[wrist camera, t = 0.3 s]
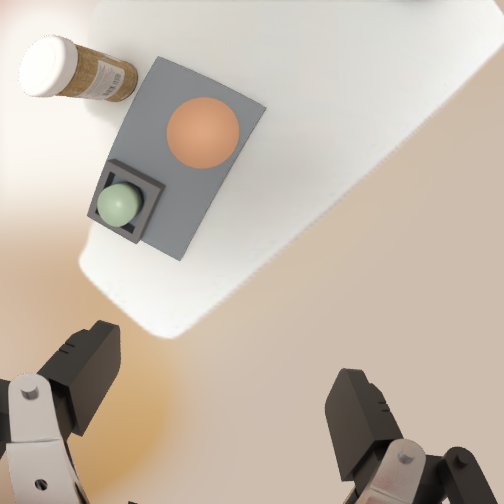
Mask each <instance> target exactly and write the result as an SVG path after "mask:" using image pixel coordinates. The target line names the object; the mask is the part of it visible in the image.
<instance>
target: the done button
mask: <svg viewBox="0 0 504 504" xmlns="http://www.w3.org/2000/svg"><path fill="white" fill-rule="evenodd" d="M141 205H142V199H141V195H140V193H139V191H138V189H137V188H136V187H135V186H134V185H132V184H131V183H128V182H119V183H116V184H114V185H112V186H109V187H107V188H106V189H104V190H103V191H102V192H101V194H100V195H99V198H98V202H97V207H98V212H99V214H100V216H101V218H102V219H103V220H104V221H105V222H106V223H107V224H109V225H111V226H115V227H120V226H123V225H125V224H127V223H128V222H129V221H130V220H132V219H133V218H134V217H135V216H136V215H137V214H138V213H139V211H140V209H141Z"/></svg>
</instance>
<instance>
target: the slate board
mask: <svg viewBox="0 0 504 504" xmlns="http://www.w3.org/2000/svg"><path fill="white" fill-rule="evenodd" d="M265 109H266V107H264V106H262V105H260V104H259V103H257V102H255V101H253V100H251V99H249V98H247V97H246V96H244V95H242V94H240V93H238V92H236V91H234V90H232V89H230V88H228V87H226V86H224V85H222V84H220V83H218V82H216V81H214V80H212V79H209V78H207V77H205V76H203V75H201V74H199V73H196V72H194V71H192V70H190V69H187V68H185V67H183V66H181V65H178V64H176V63H173V62H171V61H169V60H166V59H164V58H161V57H159V56H158V57H157V58H156V60H155V62H154V64H153V65H152V67H151V69H150V71H149V72H148V74H147V76H146V78H145V80H144V81H143V83H142V85H141V87H140V89H139V91H138V93H137V95H136V97H135V98H134V100H133V102H132V104H131V106H130V109H129V111H128V113H127V115H126V117H125V119H124V121H123V123H122V125H121V128H120V130H119V132H118V134H117V137H116V139H115V141H114V143H113V146H112V148H111V151H110V153H109V155H108V158H107V160H106V163H105V166H104V168H103V171H102V173H101V176H100V179H99V181H98V184H97V187H96V190H95V193H94V196H93V198H92V202H91V205H90V208H89V211H88V214H87V216H88V217H90V218H91V219H93V220H95V221H96V222H98V223H100V224H102V225H103V226H105V227H107V228H108V229H110V230H112V231H114V232H115V233H117V234H119V235H121V236H123V237H124V238H126V239H128V240H130V241H131V242H133V243H135V244H137V243H138V242H139V241H140V240H142V241H143V242H145V243H147V244H149V245H151V246H153V247H154V248H156V249H158V250H160V251H162V252H164V253H165V254H167V255H169V256H171V257H173V258H175V259H177V260H179V261H180V260H181V258H182V256H183V255H184V253H185V251H186V249H187V247H188V245H189V243H190V241H191V239H192V237H193V235H194V233H195V231H196V229H197V228H198V226H199V224H200V222H201V220H202V218H203V216H204V214H205V213H206V211H207V209H208V207H209V205H210V203H211V202H212V200H213V198H214V196H215V194H216V193H217V191H218V189H219V187H220V185H221V184H222V182H223V180H224V178H225V176H226V175H227V173H228V171H229V169H230V168H231V166H232V164H233V162H234V161H235V159H236V157H237V156H238V154H239V152H240V150H241V149H242V147H243V145H244V144H245V142H246V140H247V139H248V137H249V135H250V134H251V132H252V130H253V129H254V127H255V125H256V124H257V122H258V120H259V119H260V117H261V115H262V114H263V112H264V111H265ZM119 182H128V183H131V184H132V185H134V186H135V187H136V188H137V189H138V191H139V193H140V195H141V199H142V205H141V209H140V211H139V213H138V214H137V215H136V216H135V217H134V218H133V219H132V220H130V221H129V222H128V223H127V224H125V225H123V226H120V227H115V226H111V225H109V224H107V223H106V222H105V221H104V220H103V219H102V218H101V216H100V214H99V212H98V207H97V202H98V198H99V195H100V194H101V192H102V191H103V190H104V189H106V188H107V187H109V186H112V185H114V184H116V183H119Z"/></svg>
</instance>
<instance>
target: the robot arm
mask: <svg viewBox="0 0 504 504" xmlns="http://www.w3.org/2000/svg"><path fill="white" fill-rule="evenodd" d="M120 363H121V352H120V328H119V326H118V325H114V324H111V323H108V322H104V321H101V320H99V321H97V322H96V323H95V325H94V326H93V327H92V328H91V329H90V330H89V331H88V330H85V329H83V330H81V331H79V332H76V333H74V334H73V335H71V337H70V338H69V339H68V340H67V341H66V342H65V344H63V345H62V346H61V347H60V348H59V351H56V352H55V354H54V355H53V356H52V357H51V358H50V359H49V360H48V361H47V362H46V364H45V365H44V366H43V367H42V368H41V369H40V370H39V371H38V372H37V374H33V373H25V374H21V375H18V376H17V377H15V378H14V379H13V380H12V381H7V380H3V379H0V459H1V457H2V456H3V454H4V452H5V450H6V452H7V459H8V467H9V473H10V479H11V484H12V488H13V493H14V497H15V502H16V504H90V503H89V500H88V498H87V496H86V494H85V492H84V489H83V487H82V485H81V482H80V479H79V476H78V473H77V470H76V467H75V464H74V461H73V458H72V455H71V451H70V448H69V444H68V441H67V439H68V437H69V435H70V434H71V432H72V433H74V434H76V435H79V436H81V437H82V436H83V434H84V432H85V431H86V429H87V427H88V425H89V423H90V421H91V420H92V418H93V416H94V414H95V413H96V411H97V409H98V407H99V405H100V404H101V402H102V400H103V398H104V397H105V395H106V393H107V392H108V390H109V388H110V386H111V385H112V383H113V381H114V379H115V378H116V376H117V374H118V372H119V368H120ZM325 415H326V419H327V423H328V427H329V431H330V435H331V439H332V443H333V447H334V451H335V455H336V459H337V463H338V468H339V472H340V476H341V480H342V481H354V482H355V487H354V488H353V489H352V490H351V492H350V493H349V495H348V496H347V498H346V500H345V501H344V503H343V504H442V501H444V500H445V499H446V498H447V497H448V499H449V501H450V504H498V503H497V501H496V499H495V497H494V495H493V493H492V491H491V489H490V486H489V485H488V482H487V481H486V479H485V476H484V474H483V472H482V470H481V468H480V466H479V465H478V463H477V461H476V459H475V457H474V455H473V454H472V453H471V452H470V451H468V450H466V449H465V448H462V447H452V448H450V449H449V450H448V451H447V453H445V455H444V456H443V457H442V456H433V455H426V454H425V452H424V450H423V449H422V448H421V446H420V445H418V444H417V443H416V442H414V441H411V440H408V439H404V438H403V436H402V433H401V431H400V429H399V427H398V425H397V423H396V421H395V419H394V417H393V415H392V413H391V412H390V408H389V407H388V404H386V401H385V399H384V397H383V394H382V392H381V391H380V390H379V389H378V388H377V387H376V386H375V385H373V384H372V383H371V384H370V383H369V382H368V380H367V378H366V376H365V374H364V372H363V371H362V370H357V369H345V368H343V369H341V370H340V372H339V374H338V376H337V378H336V380H335V383H334V385H333V387H332V389H331V391H330V393H329V396H328V397H327V400H326V404H325ZM128 504H137V503H133V502H130V501H129V502H128Z"/></svg>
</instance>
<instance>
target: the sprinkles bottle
mask: <svg viewBox="0 0 504 504" xmlns="http://www.w3.org/2000/svg"><path fill="white" fill-rule="evenodd" d="M19 83H20V86H21V89H22V90H23V92H24V93H25V94H27V95H29V96H32V97H51V96H54V95H56V96H67V97H74V98H87V99H97V100H102V99H104V100H108V101H111V102H117V101H121V100H123V99H125V98H127V97H128V96H129V95H130V94H131V92H132V91H133V90H134V88H135V86H136V83H137V73H136V69H135V68H134V67H133V66H132V65H131V64H130V63H128V62H125V61H120V60H118V59H117V58H114V57H112V56H110V55H107V54H104V53H101V52H97V51H94V50H91V49H89V48H86V47H83V46H79V45H76V44H74V43H73V42H72V41H71V40H69V39H67V38H64V37H60V36H56V35H48V36H44V37H42V38H40V39H39V40H37V41H36V42H35V43H34V44H33V45H32V46H31V47H30V48H29V49H28V51H27V52H26V54H25V56H24V58H23V60H22V62H21V65H20V70H19Z"/></svg>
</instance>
